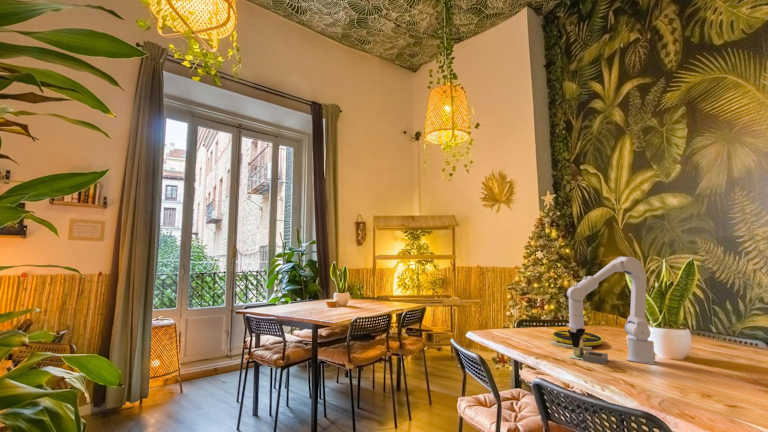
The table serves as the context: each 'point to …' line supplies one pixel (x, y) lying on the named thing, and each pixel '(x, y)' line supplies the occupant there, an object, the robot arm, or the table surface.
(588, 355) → the gray block
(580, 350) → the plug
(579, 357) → the mat
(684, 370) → the table surface
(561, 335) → the wall ornament
